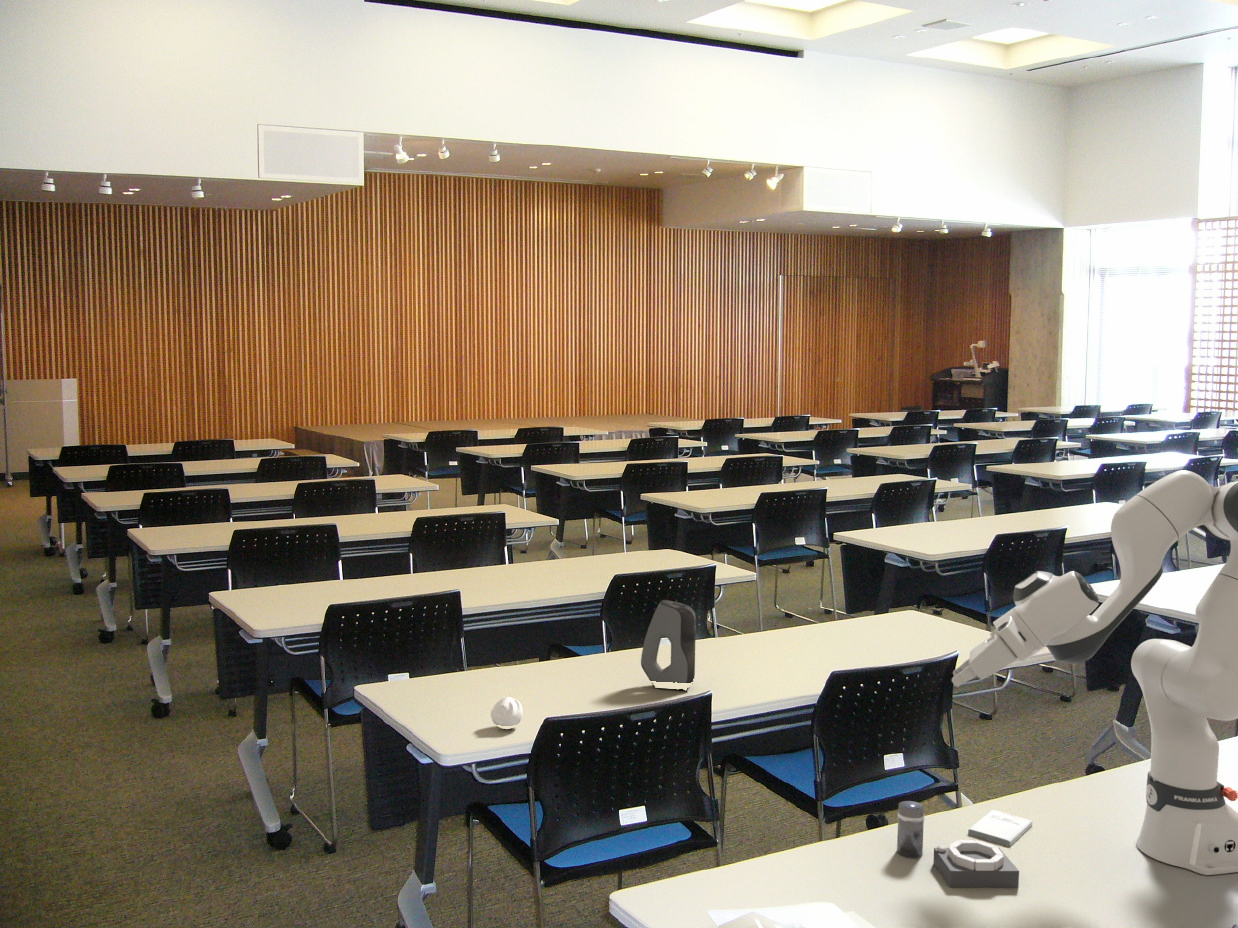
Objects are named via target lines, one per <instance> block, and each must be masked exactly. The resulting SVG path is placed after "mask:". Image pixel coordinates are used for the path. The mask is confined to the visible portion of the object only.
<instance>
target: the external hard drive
mask: <svg viewBox="0 0 1238 928" xmlns="http://www.w3.org/2000/svg"><path fill="white" fill-rule="evenodd" d="M1032 826H1033V821H1032V820H1031V819H1028V818H1025V817H1020V816H1017V815H1014V814H1010V813H1007V812H1004V811H999V810H997V809H991V810H990V811H989V812H988V813H987V814H985V815H984V816H983V817H982V818H980V819H979V820H978V821H977V822H975V823H974V824H973V825H972V826H971V827H970V828H968V830H967V833H968V835H969V836H974V837H977V838H980V839H984V840H987V841H990V842H994V843H998V844H1000V845H1004V846H1007V847H1012V845H1013V844H1014V843H1016V842H1017V841H1018V839H1020V838H1021V837H1022V836H1023V835H1024V834H1026V832H1027V831H1028V830H1029V829H1030V828H1032Z"/></svg>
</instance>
